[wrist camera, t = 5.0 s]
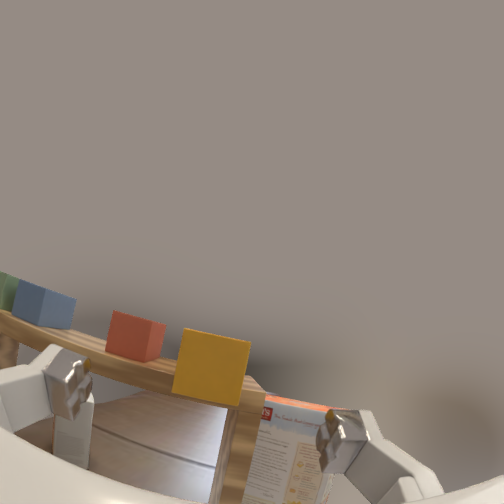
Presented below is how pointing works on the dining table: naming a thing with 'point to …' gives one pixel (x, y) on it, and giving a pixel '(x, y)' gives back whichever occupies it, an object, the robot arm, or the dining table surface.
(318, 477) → the cracker box
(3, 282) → the block
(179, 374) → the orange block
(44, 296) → the block
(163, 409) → the dining table surface
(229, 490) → the shelf
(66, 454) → the small box
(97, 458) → the dining table surface
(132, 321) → the block
